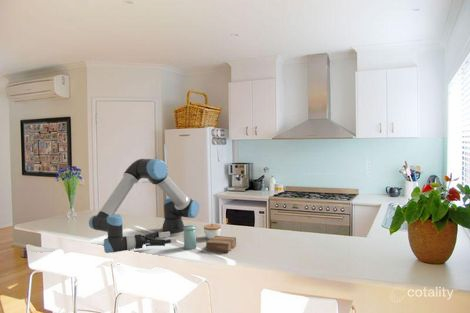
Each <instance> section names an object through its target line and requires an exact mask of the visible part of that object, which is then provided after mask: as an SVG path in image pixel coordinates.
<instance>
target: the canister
mask: <svg viewBox="0 0 470 313" xmlns="http://www.w3.org/2000/svg"><path fill="white" fill-rule="evenodd" d="M183 230H184V231H183V245H184V246H183V249H184V250H186V249H187V250H186V251H191V250H192V249H193V250H196V249H197V225H184V227H183ZM193 250H192V251H193Z"/></svg>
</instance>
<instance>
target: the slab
mask: <svg viewBox="0 0 470 313" xmlns="http://www.w3.org/2000/svg"><path fill="white" fill-rule="evenodd" d="M235 247H237V236H236V237H233V236H222V235H219V236H214V237H213V238H212V239H208V240H207V241H206V249H205V250H206V252H212V251H216V252H215V253H222V252H229V251H230V250H231V249H232V250H234V249H235ZM232 250H231V251H232ZM231 251H230V252H231ZM230 252H229V253H230Z"/></svg>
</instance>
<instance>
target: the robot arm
mask: <svg viewBox="0 0 470 313" xmlns="http://www.w3.org/2000/svg"><path fill="white" fill-rule="evenodd" d="M168 171H169V169H168V166H167V163H166V162H165V161H163V160H162V159H160V158H139V159H136V160H134V161H133V162H132V163H130V165H129V166H128V167H127V168H126V170H125V171H124V172H123V174H122V178H121V180H120V181H119V183H118V184H117V186H116V187H115V189H114V190H113V191H112V193H111V194H110V196H109V197H108V199H107V200H106V201H105V203H104V204H103V206H102V207H101V209H100V210H99V212H98V213H97V214H96V215H92V216H91V217H90V218H89V220H88V226H89V227H90V229H93V230H95V231H101V232H106V233H107V238H104V240H103V250H104V253H106V254H109V253H110V254H111V253H112V254H115V253H117V252H118V253H119V252H125V251H129V252H130V251H132V250H134V249H135V250H139V249H142V248H143V246H144V245H145V247H165V246H166V245H169V244H175V243H177V241H178V240H177V237H176V236H175V237H171V234H174V233H175V232H177V233H182V232H184V231H183V227H184V226H185V224H184V221H183V219H182V218H188V219H194V218H196V217H198V214H199V213H200V207H201V206H200V202H199V201H197V200H196V199H195V200H194V199H192V198H191V197H190V196H189V195H187V194H185V193H184V192H183V191H182V190H181V188H180V187H179V186H178V185H177V184H176V183H175V182H174V181H173V179H172V178H170V176H169V172H168ZM141 179H147V180H148V181H149V182H150V183H151V184H152V185H155V186H156V185H157V186H158V188H160V190H161V191H162V192H163V193H164V194H165V195H166V196H167V197H166V198H164V199H163V213H164V220H163V223H162V228H161V229H162V230H161V231H162V232H159V231H155V232H151V233H148V234H144V235H142V234H139V233H138V234H132V235H130V234H129V235H124V234H123V223H124V222H123V217H122V215H121V214H119V213H118V214H117V213H116V212H117V211H118V209H119V208H120V207H121V205H122V203H123V201H124V200H125V198H126V197H127V195H128V194H129V193H130V191H131V190H132V188H133V187H134V186H135V184H137V183H138V182H139V181H140V180H141ZM115 213H116V214H115ZM158 238H159V239H158ZM162 238H163V239H162Z"/></svg>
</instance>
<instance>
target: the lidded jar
mask: <svg viewBox="0 0 470 313" xmlns="http://www.w3.org/2000/svg"><path fill="white" fill-rule="evenodd" d="M221 231H222V225H221V224H218V223H210V224H205V225H204V226H203V232H204V235H205V237H206V238H207V240H210V239H212V238H213V237H214V236H221Z"/></svg>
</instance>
